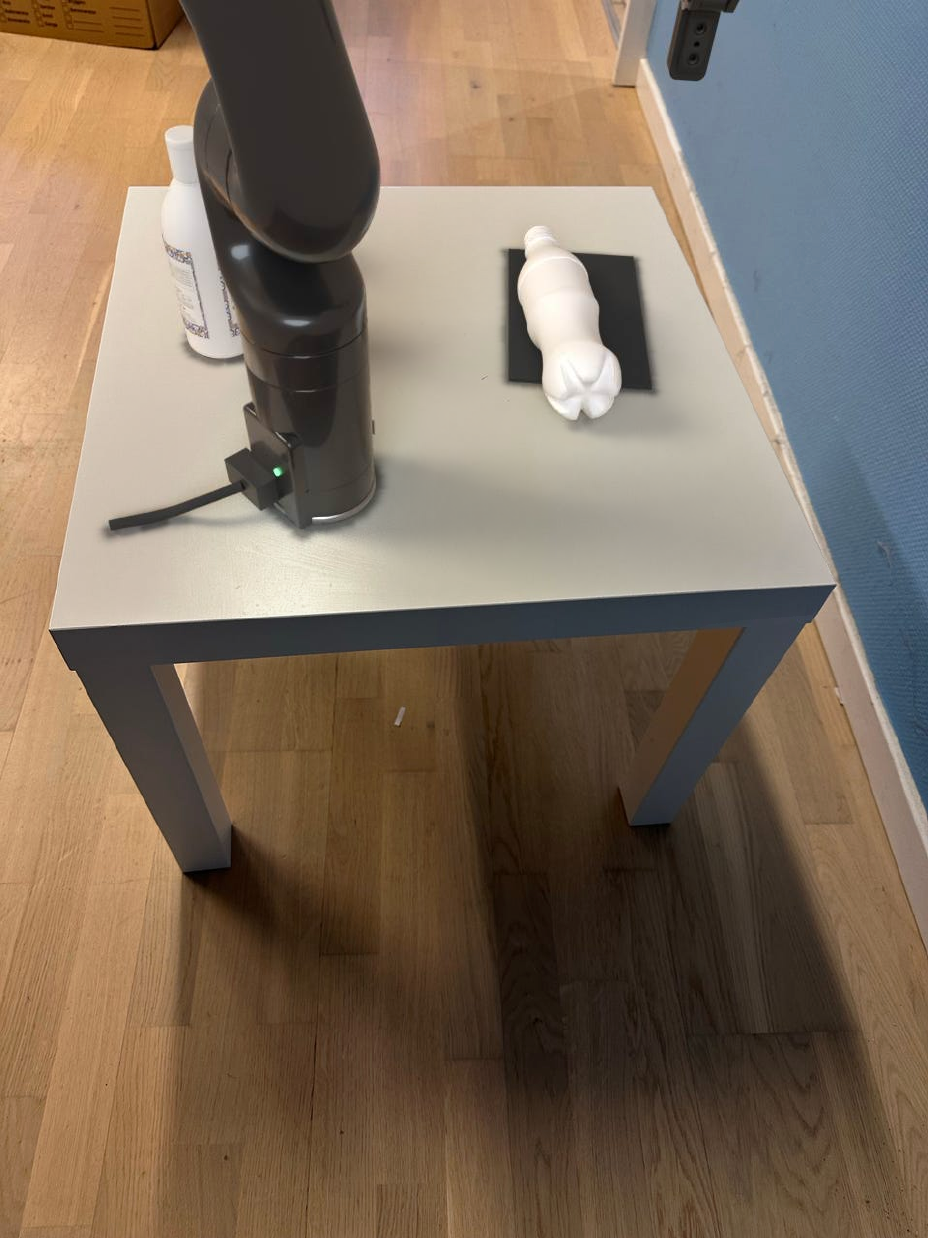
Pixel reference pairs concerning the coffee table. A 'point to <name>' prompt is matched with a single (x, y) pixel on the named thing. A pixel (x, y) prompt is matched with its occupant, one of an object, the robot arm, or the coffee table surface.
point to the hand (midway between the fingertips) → (684, 74)
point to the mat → (615, 322)
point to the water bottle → (566, 329)
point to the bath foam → (195, 256)
